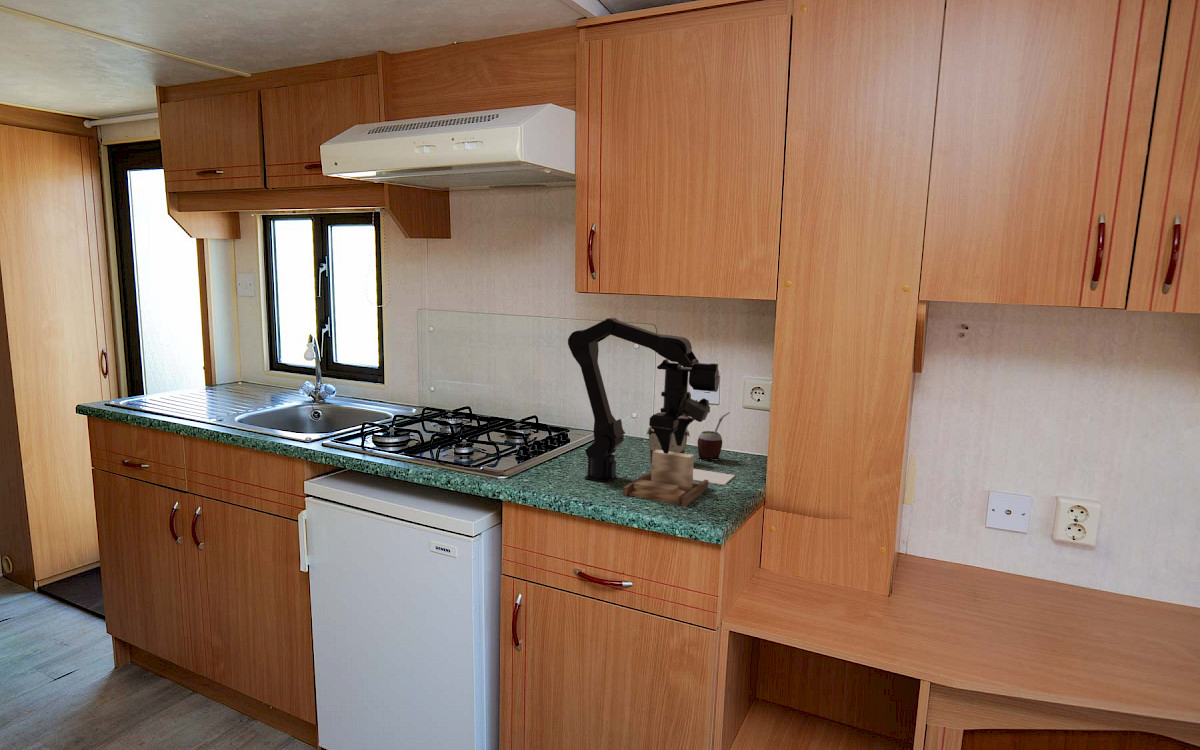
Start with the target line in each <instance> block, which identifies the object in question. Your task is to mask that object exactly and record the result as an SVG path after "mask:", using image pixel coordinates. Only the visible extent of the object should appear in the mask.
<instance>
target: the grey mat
mask: <svg viewBox="0 0 1200 750" xmlns="http://www.w3.org/2000/svg"><path fill="white" fill-rule="evenodd" d="M735 477H736V475H734V474H730V473H729V474H728V473H723V472H716V471H711V470H704V469H698V468H693V482H697V483H701V482H702V481H704V480H708V484H712V485H719V486H723V487H724V486H725V485H727V484H728V483H729V482H730V481H732V480H733V479H734V478H735Z"/></svg>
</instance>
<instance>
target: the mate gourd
mask: <svg viewBox="0 0 1200 750" xmlns="http://www.w3.org/2000/svg"><path fill="white" fill-rule="evenodd" d="M729 414H730V412H727V413H725V414H723V415H722V416H721V417H720V418H719V419H718V423H717V424H716V427H715V430H713V431H709V430H705V431H701V432H700V434H699V435H698V439H697V453H698V456H699V457H698V461H703V460H702V459H708V460H709V461H710V462H709V463H711V462H713V463H714V460H712V459H720V458H719V457H720V455H721V452H722V447H723V438H722V435H721V434H720V433H719V432H717V431H718V429H719V427H720V425H721V423H722V421H723V419H724V418H725V417H726V416H728V415H729ZM700 459H701V460H700ZM708 460H707V461H708Z"/></svg>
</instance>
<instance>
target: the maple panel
mask: <svg viewBox="0 0 1200 750" xmlns="http://www.w3.org/2000/svg"><path fill="white" fill-rule="evenodd" d="M694 462H695V455H694V454H689V453H685V454H684V453H677V452H670V451H669V453H668V454H666V453H664V452H663V450H655V451H653V452H652V463H651V471H652V472H651V480H650V481H655V482H660V483H666V484H672V485H678V486H684V487H690V488H692V485H693V482H694V481H693V469H694Z"/></svg>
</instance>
